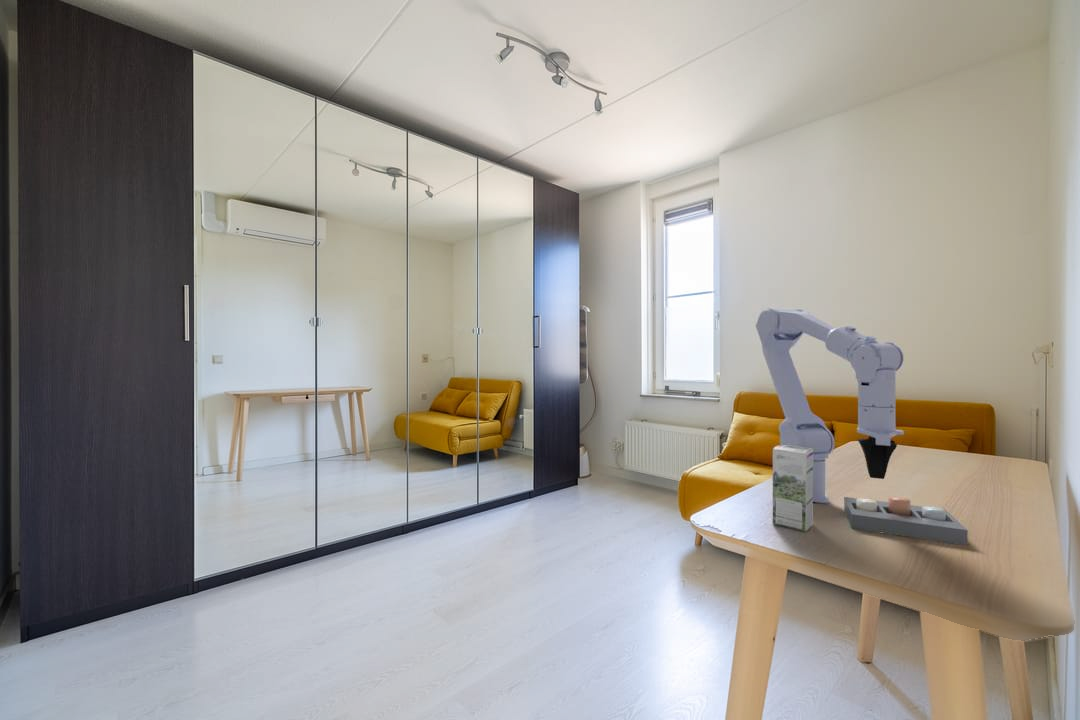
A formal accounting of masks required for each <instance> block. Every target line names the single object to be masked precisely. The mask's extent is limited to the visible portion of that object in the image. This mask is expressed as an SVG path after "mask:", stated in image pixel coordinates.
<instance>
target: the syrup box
mask: <svg viewBox="0 0 1080 720" xmlns="http://www.w3.org/2000/svg"><path fill="white" fill-rule="evenodd" d="M813 503H814V502H813V448H805V447H797V446H788V445H781V444H778V445H775V446H774V447H773V448H772V524H773V525H775V526H779V527H785V528H788V529H792V530H797V531H801V532H807V531H808V530H809V529H810V528H811V526H812V525H813V523H814V509H813V507H814V506H813V505H814V504H813Z"/></svg>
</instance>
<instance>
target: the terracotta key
mask: <svg viewBox="0 0 1080 720" xmlns="http://www.w3.org/2000/svg"><path fill="white" fill-rule="evenodd" d="M887 502H888V512H889V513H891V514H896V515H904V516H910V505H911V499H909V498H906V497H903V496H893V495H892V496H890V495H889V496H888V501H887Z"/></svg>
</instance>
